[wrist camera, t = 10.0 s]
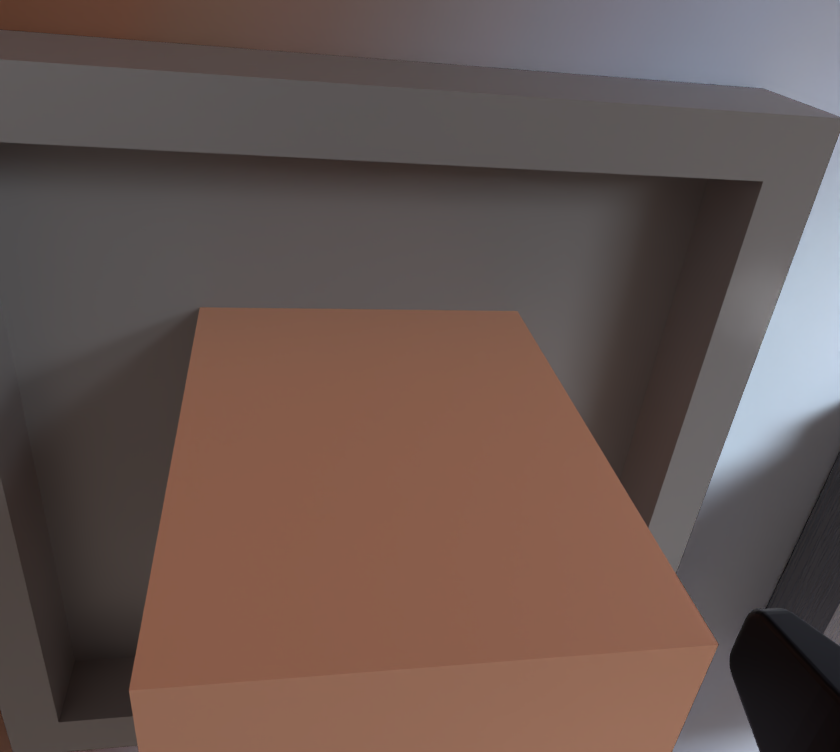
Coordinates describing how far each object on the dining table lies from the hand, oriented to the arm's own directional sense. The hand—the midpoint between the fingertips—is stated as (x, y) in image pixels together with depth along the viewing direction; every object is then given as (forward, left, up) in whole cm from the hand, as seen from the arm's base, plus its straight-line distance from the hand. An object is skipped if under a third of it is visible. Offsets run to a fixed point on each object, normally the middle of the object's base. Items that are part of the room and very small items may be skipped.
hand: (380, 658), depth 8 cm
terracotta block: (0, 0, -4) cm, 4 cm away
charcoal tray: (0, 0, -5) cm, 5 cm away
